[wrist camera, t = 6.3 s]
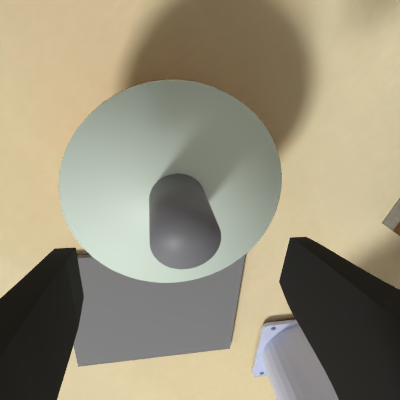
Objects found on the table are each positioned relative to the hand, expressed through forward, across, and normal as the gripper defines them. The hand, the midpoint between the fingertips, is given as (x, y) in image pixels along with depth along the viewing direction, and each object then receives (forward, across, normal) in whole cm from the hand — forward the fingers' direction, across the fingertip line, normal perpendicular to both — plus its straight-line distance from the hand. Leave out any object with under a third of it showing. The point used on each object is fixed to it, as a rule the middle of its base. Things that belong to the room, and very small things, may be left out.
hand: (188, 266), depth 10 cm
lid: (+6, 0, 0) cm, 6 cm away
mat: (+10, +1, +13) cm, 16 cm away
